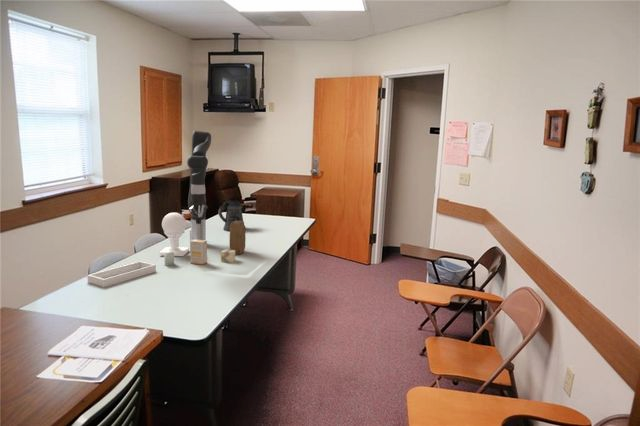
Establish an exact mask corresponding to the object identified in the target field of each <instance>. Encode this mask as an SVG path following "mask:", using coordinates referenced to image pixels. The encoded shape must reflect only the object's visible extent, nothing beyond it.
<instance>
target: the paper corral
mask: <svg viewBox="0 0 640 426" xmlns="http://www.w3.org/2000/svg"><path fill="white" fill-rule="evenodd" d="M156 268H157V265H156V264H155V263H150V262H145V261H141V260H138V261H135V262H133V263H128V264H125V265H121V266H116V267H113V268H108V269H106V270H102V271H98V272H93V273H91V274H88V275H86V276H87V277H86V278H87V283H89V284H91V285H95V286H98V287H102V288H105V287H109V286H112V285H116V284H119V283H123V282H126V281H129V280H132V279H135V278H139V277H142V276H145V275H149V274H151V273H156V271H157V269H156Z"/></svg>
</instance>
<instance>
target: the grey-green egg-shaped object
mask: <svg viewBox="0 0 640 426" xmlns="http://www.w3.org/2000/svg"><path fill="white" fill-rule="evenodd" d="M163 258H164V266H166V267H170V266H174V265H175V256H174V251H166V252H164V256H163Z"/></svg>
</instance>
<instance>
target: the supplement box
mask: <svg viewBox="0 0 640 426" xmlns="http://www.w3.org/2000/svg"><path fill="white" fill-rule="evenodd" d="M189 253H190V255H189V256H190V264H193V265H202V266H204V265H205V264H208V240H197V239H194V240H191V241H190V240H189Z"/></svg>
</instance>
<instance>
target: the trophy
mask: <svg viewBox="0 0 640 426" xmlns="http://www.w3.org/2000/svg"><path fill="white" fill-rule="evenodd" d="M186 227H187V221H186V218H185V217H184V216H183V215H182V214H181V213H179V212H169V213H168V214H166V215H165V216H164V217H163V218H162V221H161V228H162V229H163V233H164V234H165V236H166V237H167V238H168V239H169V247H168V246H166V247H165V248H163V249H162V250H161V251H159V254H158V255H159V256H161V257H164V252H166V251H174V257H184V256H185V255H186V254H187V253H189V252H190V247H180V246H179V245H180V244H179V243H180V242H179V241H180V238H181V237H182V236H183V234H184V233H185V229H186Z"/></svg>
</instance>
